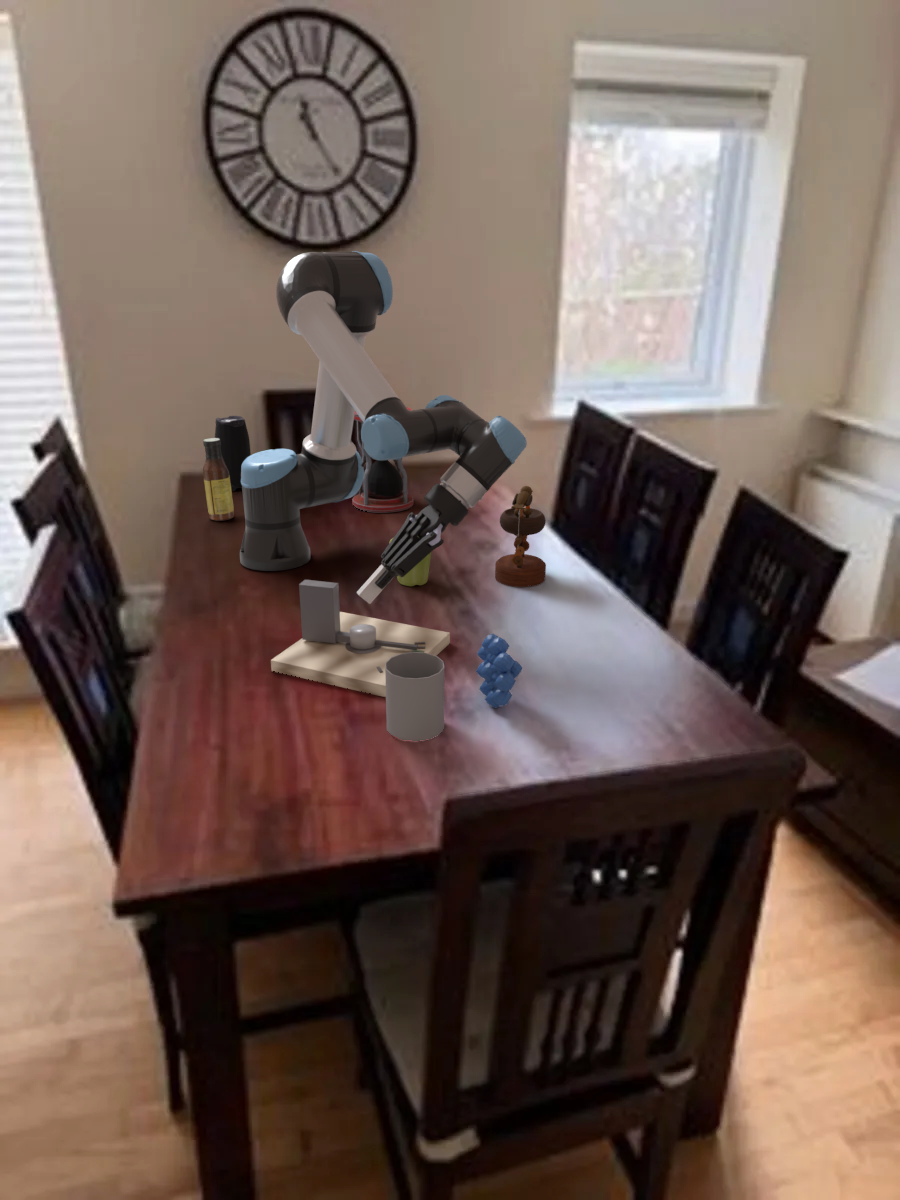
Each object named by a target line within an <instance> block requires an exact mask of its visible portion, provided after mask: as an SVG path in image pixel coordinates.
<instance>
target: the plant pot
mask: <svg viewBox="0 0 900 1200" xmlns="http://www.w3.org/2000/svg"><path fill="white" fill-rule="evenodd" d="M393 538H394V537H392V538H391V539H390V540H389V542H388V543H389V544H390V542H391V541H392V539H393ZM432 552H433V551H432ZM432 552H430V553H429V554H428V555H427V556H426V557H425V558H424V559H423V560H422V561H420V562H419V563H418V564H417V565H416V566H415V567H414V568H413V569H412V570H410V571H409V572H408V573H407V574H406V575H405V576H404V577H400V576H397V581H398V583H399V584H400V585H403V586H406V587H414V586H423V585H426V583H427V582H428V579H429V570H430V565H431V558H432Z"/></svg>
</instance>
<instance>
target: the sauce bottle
mask: <svg viewBox="0 0 900 1200" xmlns="http://www.w3.org/2000/svg"><path fill="white" fill-rule="evenodd" d="M202 443H203V447H204V450H205V451H204V452H205V462H204V464H203V467H202V472H203V483H204V491H205V498H206V504H207V510H208V511H207V512H208V514H209V515H208V516H209V519H210V520H211V521H216V522H217V521H218V522H221V521H223V522H224V521H228V520H231V519H233V518H234V515H235V514H234V511H235V509H234V500H233V493H232V492H233V491H231V483H230V476H229V471H228V469H227V467H226V464H225V462H224V460H223V457H222V454H221V447H220V445H221V442H220V439H218V438H215V437H210V438H205V439H203V441H202Z"/></svg>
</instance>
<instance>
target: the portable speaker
mask: <svg viewBox="0 0 900 1200" xmlns="http://www.w3.org/2000/svg"><path fill="white" fill-rule="evenodd" d="M214 422H215V429H214V430H215V431H214V438H218V439H220V442H221V445H220V447H221V454H222V457H223V460H224V462H225V464H226V467H227V469H228V471H229V476H230V483H231V491H232V492H235V491H236V490H237V489H242V484H241V466H242V463H243V461H244V460H245V459H246V458H247V457H249V456H250V455H252V454H251V443H250V436H249V432H248V428H247V424H246V420H245V418H244V417H243V416H241V415H229V416H227V417H216V418H215V421H214Z"/></svg>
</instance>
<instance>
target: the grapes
mask: <svg viewBox="0 0 900 1200" xmlns="http://www.w3.org/2000/svg"><path fill="white" fill-rule="evenodd" d="M509 648H510V644H509V642H508V641H506V639H504V638H502V637H500V636H499V635H497V634H495V633H489V634H488V635H487V636H485V638H484V639H483V641H482V643H481V647H479V649H478V651H477V652H476V655H477V656H478V657H479V659H480V660H482V662H481V663H480V664H479V666H478V667H477V669H476V671H475V672H476V674H477V675H479V677H480V678H482V679H483V682H482V683H481V685H480V687H479V688H478V690H479V691H480V692H481V693H482V695H484V696H486V697H485V698H484V701H485V702H486V703H487V704H488V705H489V706H491V707H492V708H494V709H495V708H497V709H498V708H500V707H505V706H506V705H508V704H509V702H510V700H511V699H512V697H513V694H512V692H511V690H512V688H513V687H514V686H515V684H516V682H517V680H516V678H518V676H519V675H520V674H521V673H522V670H523V666H522V665H521V664H520V663H519V661H517V660H515V659H514V658H513V657H512V655H510V654H508V653H507V651H508V650H509Z"/></svg>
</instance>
